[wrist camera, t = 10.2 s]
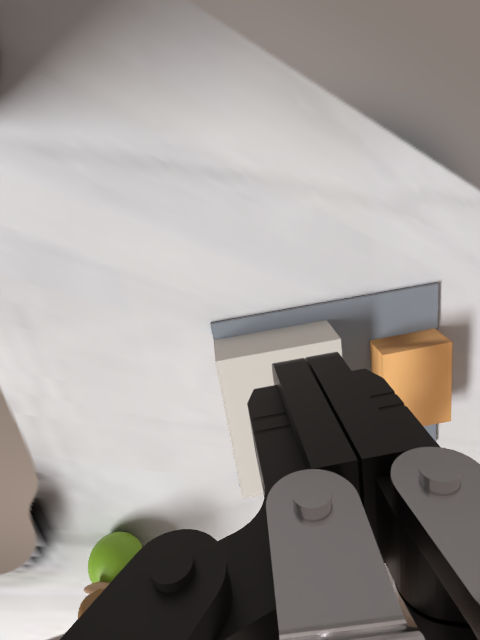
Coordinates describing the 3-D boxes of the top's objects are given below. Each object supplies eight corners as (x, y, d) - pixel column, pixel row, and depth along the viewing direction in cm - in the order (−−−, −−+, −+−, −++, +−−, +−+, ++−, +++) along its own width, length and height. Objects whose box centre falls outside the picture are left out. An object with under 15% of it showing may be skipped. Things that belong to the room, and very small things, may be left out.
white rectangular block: (238, 465, 44) (242, 498, 40) (213, 338, 39) (215, 361, 34) (336, 446, 44) (351, 478, 40) (325, 318, 39) (340, 338, 35)
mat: (240, 476, 44) (240, 479, 44) (210, 322, 38) (210, 324, 38) (433, 440, 45) (435, 443, 45) (436, 282, 39) (438, 283, 38)
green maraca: (142, 567, 48) (125, 695, 37) (86, 549, 46) (50, 677, 35) (165, 533, 46) (155, 655, 35) (108, 512, 45) (78, 634, 33)
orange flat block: (450, 420, 40) (434, 403, 43) (452, 341, 37) (434, 328, 40) (386, 433, 40) (373, 414, 43) (382, 355, 37) (369, 340, 40)
